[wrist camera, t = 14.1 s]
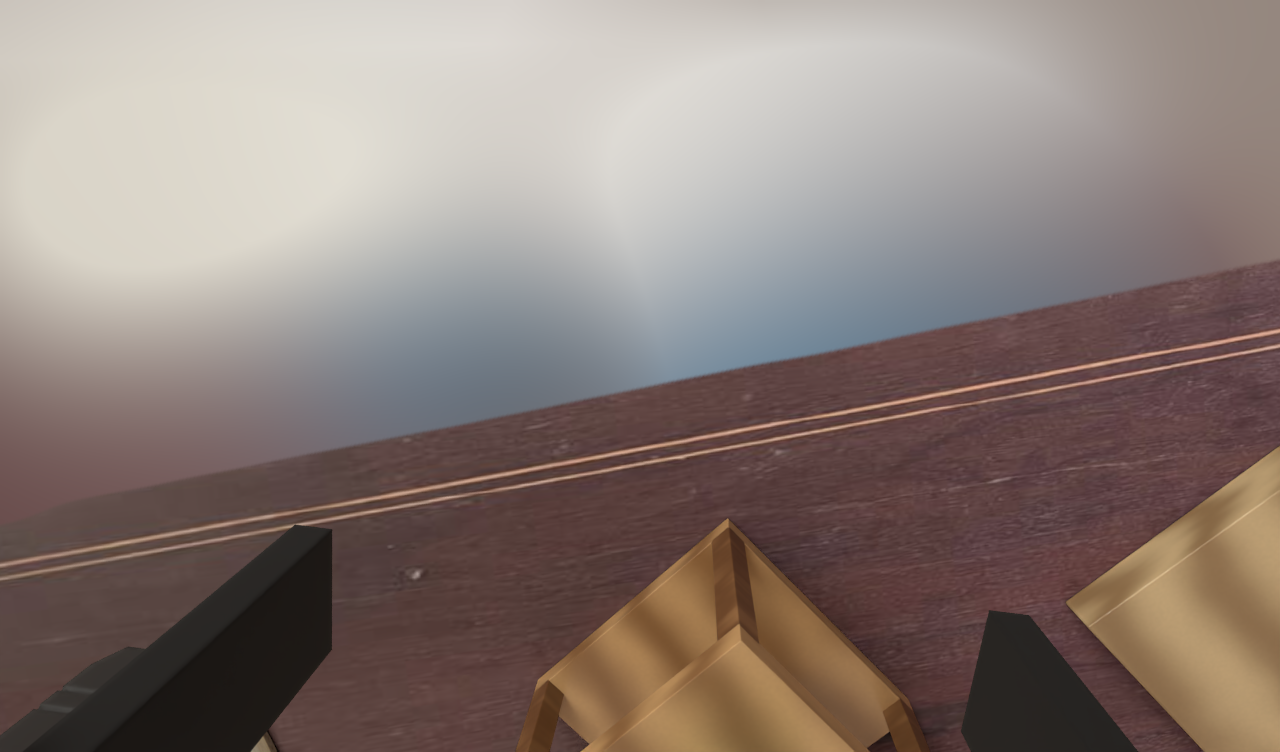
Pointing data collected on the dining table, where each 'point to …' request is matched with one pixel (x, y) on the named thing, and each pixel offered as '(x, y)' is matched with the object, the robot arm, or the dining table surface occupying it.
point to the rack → (720, 669)
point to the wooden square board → (1204, 615)
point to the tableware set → (264, 745)
